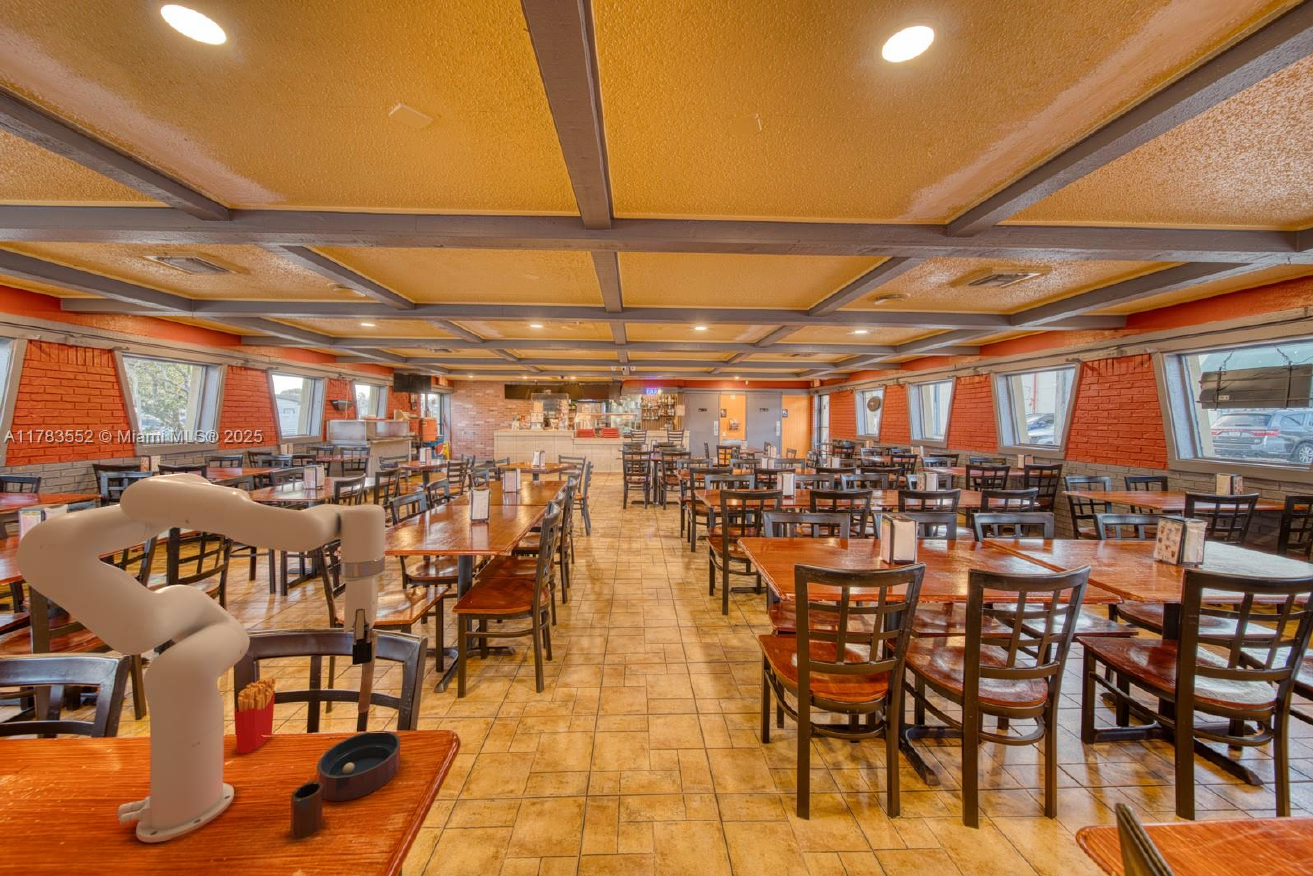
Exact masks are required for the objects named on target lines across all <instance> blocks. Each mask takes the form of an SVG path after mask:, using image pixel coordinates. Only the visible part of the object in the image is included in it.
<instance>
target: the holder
mask: <svg viewBox="0 0 1313 876" xmlns="http://www.w3.org/2000/svg"><path fill="white" fill-rule="evenodd" d="M323 821H324V798H323V784H322V783H321V782H317V780H315V781H314V780H313V781H309V782H307V783H303V784H302V785H301V786H298V787H297V788H296V789H295V790H293V791H292V793H291V796H290V837H291V838H293V839H305V838H306V837H310V836H311V835H313V834H315V833H316V832H317V831H319V829H320V828H321V826H322V825H323Z"/></svg>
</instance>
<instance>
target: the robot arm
mask: <svg viewBox="0 0 1313 876" xmlns="http://www.w3.org/2000/svg"><path fill="white" fill-rule="evenodd" d="M173 528H175V529H177V528H178V529H183V530H191V531H198V532H205V533H210V534H217V535H223V536H225V537H227V538H228V539H230V540H233V541H236V542H238V543H241V544H244V545H246V546H250V547H254V548H259V549H267V550H274V551H281V552H282V551H283V552H289V553H305V552H311V551H313V550H316V549H318V548H320V547H322V546H324V545H326V544H328V543H332V542H334V541H336V540H340V580H343V581H345V590H344V591H345V592H344V607H343V608H344V610H343V632H344V633H345V634H347V633H349V632H351V631H352V636H353V637H352V645H351V646H352V648H351V650H352V651H351V653H352V654H351V655H352V656H351V658H352V659H351V660H352V663H351V664H352V665H353V666H358V665H363V664H364V663H369V662H371V661H372V641H370V631H373V627H374V625H375V622H376V618H377V612H378V603H379V577H381V576H383V575H384V574H385V573H386V510H385V507H383V506H382V505H381V504H371V503H370V504H368V503H366V504H356V505H343V504H336V503H335V504H333V503H323V504H317V505H315V506H311V507H307V508H304V509H301V510H299V509H291V508H283V507H278V506H272V505H267V504H263V503H261V502H260V503H259V502H257V501H254V500H252V499H251V496H250V494H249V493H248V491H246V490H244V489H242V488H236V487H229V486H224V485H217V484H212V482H211V481H210V480H208V479H207V478H205V477H204V476H201V475H198V474H195V473H187V472H186V473H174V474H164V475H154V476H148V477H145V478H141V479H139V480H137V481H135V482H132V483H131V484H130V485H128V486H127V487H126V488H125V489H124V491H122V493H121V496H120V499H119V503H118V504H113V505H108V506H107V505H106V506H101V507H96V508H88V509H83V510H77V511H71V512H66V513H62V514H59V515H55V516H52V517H50V518H47V519H45V520H42V521H40V522H39V523H37V524H35V525H33V526H32V527H31V528H30V529H28V530H27V532H26V533H25V534H24V535H23V536H22V538H21V540H20V541H19V543H18V546H17V548H16V549H17V550H16V556H15V558H16V566H17V570H18V571H19V574H20V576H21V577H22V579H23V580H24V581H25V583H26V584H28V585H29V586H30V587H31V588H32V589H34V590H35V591H36V592H37V593H39V594H40V595H42V596H44V597H45V598H47V599H48V600H50V601H52V602H53V603H54V604H56V605H57V606H59V607H60V608H62V609H63V610H65V612H67V613H68V614H70V616H72V617H73V618H74V619H75V620H76V621H77V622H78V623H80V624H81V625H82V626H84V628H86V629H87V630H88V631H90V632H91V633H92V634H93V635H95V636H96V637H97V638H98V639H100V640H101V641H102V642H103V643H105V645H107V646H108V647H109V648H111V649H112V650H113V651H115V652H117V653H119V654H121V655H125V656H136V655H137V656H138V655H140V654H144V653H147V652H149V651H152V650H154V649H156V648H158V647H160V646H162V645H164V644H165V643H168V642H169V641H170V640H171V641H172V642H174V643H175V644H173V645H171V646H170V647H168V648H167V649H165V650H164V651H162V652H161V653H160V654H159V655H158V656H156V658H155V659H154V660H153V661H152V662H151V663H150V664H149V665H148V668H147V669H146V671H145V673H144V677H143V692H144V695H145V699H146V702H147V707H148V713H149V714H148V715H149V741H150V748H149V751H150V752H149V753H150V756H149V757H150V758H149V759H150V760H149V761H150V763H149V796H146V797H145V798H144V799H142V800H138V801H132V802H128V803H123V804H120V806H119V807H118V808H117V811H116V812H117V813H116V818H117V819H119V825H123V824H127V823H131V822H134V821H137V820H138V823H137V825H136V827H135V836H136V838H137V839H138V840H139V841H141V842H143V843H161V842H166V841H171V840H172V839H173V838H177V837H180V836H182V835H185V834H188V833H190V832H192V831H195V830H197V829H199V828H200V827H202V826H204V825H206V824H208V823H209V822H211V821H212V820H214V819H216V817H218V816H219V815H221V814H222V813H223V812H224V811H225V810H226V809H227V808H228V807H229V806H230V805H231V804H232V802H233V800H234V797H235V789H234V787H233V786H232V785H231V784H228V783H225V782H224V765H225V764H224V763H225V762H224V759H225V757H224V755H225V707H224V706H225V705H224V700H223V696H222V694H221V692H220V690H219V687H218V680H219V678H221V677H222V676H223V675H224V674H225V673H226V672H228V671H229V670H230V669H232V668H233V667H234V666H235V665H237V664H238V663H239V662H240V661H241V660H242V659H243V658H244V657H245V655H247V653H248V651H249V648H250V643H251V640H250V635H249V632H248V631H247V629H246V628H245V627H244V625H243V624H242V623H241V622H240V621H239V620H237V618H235V617H234V616H233V615H231V614H230V613H229V612H228V610H226V609H225V608H224V607H223V606H221V604H220V603H218V602H217V601H216V600H215V599H214V598H212V597H211V596H210V595H208V594H207V593H206V592H205V591H204V590H201V589H199V588H197V587H195V586H192V585H188V584H174V585H173V584H172V585H168V586H164V587H161V588H158V589H156V590H154V591H152V590H150V589H149V588H148V587H147V586H145V585H143V584H142V583H140V582H139V581H138V579H136V578H135V577H134V576H133V575H132V574H130V573H129V572H127V571H125V570H123V569H122V568H120V567H117V566H115V565H112V564H109V563H106V562H104V561H102V560H100V558H99V557H100V556H105V555H107V554H111V553H115V552H119V551H123V550H126V549H130V548H133V547H135V546H138V545H141V544H143V543H146V542H147V541H149V540H152V539H153V538H155V537H157V536H160V535H161V534H163V533H165V532H167V531H169V530H171V529H173ZM352 629H353V630H352Z"/></svg>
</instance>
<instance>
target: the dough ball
mask: <svg viewBox="0 0 1313 876" xmlns="http://www.w3.org/2000/svg"><path fill="white" fill-rule="evenodd" d="M353 770H354V764H353V763H347V764H346V765H345V766H344V768H343V773H344V774H345V775H348V774H350V773H352V772H353Z"/></svg>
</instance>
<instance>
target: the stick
mask: <svg viewBox="0 0 1313 876" xmlns="http://www.w3.org/2000/svg"><path fill="white" fill-rule="evenodd" d="M378 639H379V632H378V631H377V630H372V631H370V641H372V661H371V662H369V663H364V664H362V671H361V679H360V687H359V695H358V702H357V712H358V713H360V714H365V713H367V712H368V711H369V709H370V705H371V699H372V697H371V696H372V690H373V681H374V673H375V665H376V658H377V649H378V642H379V641H378Z"/></svg>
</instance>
